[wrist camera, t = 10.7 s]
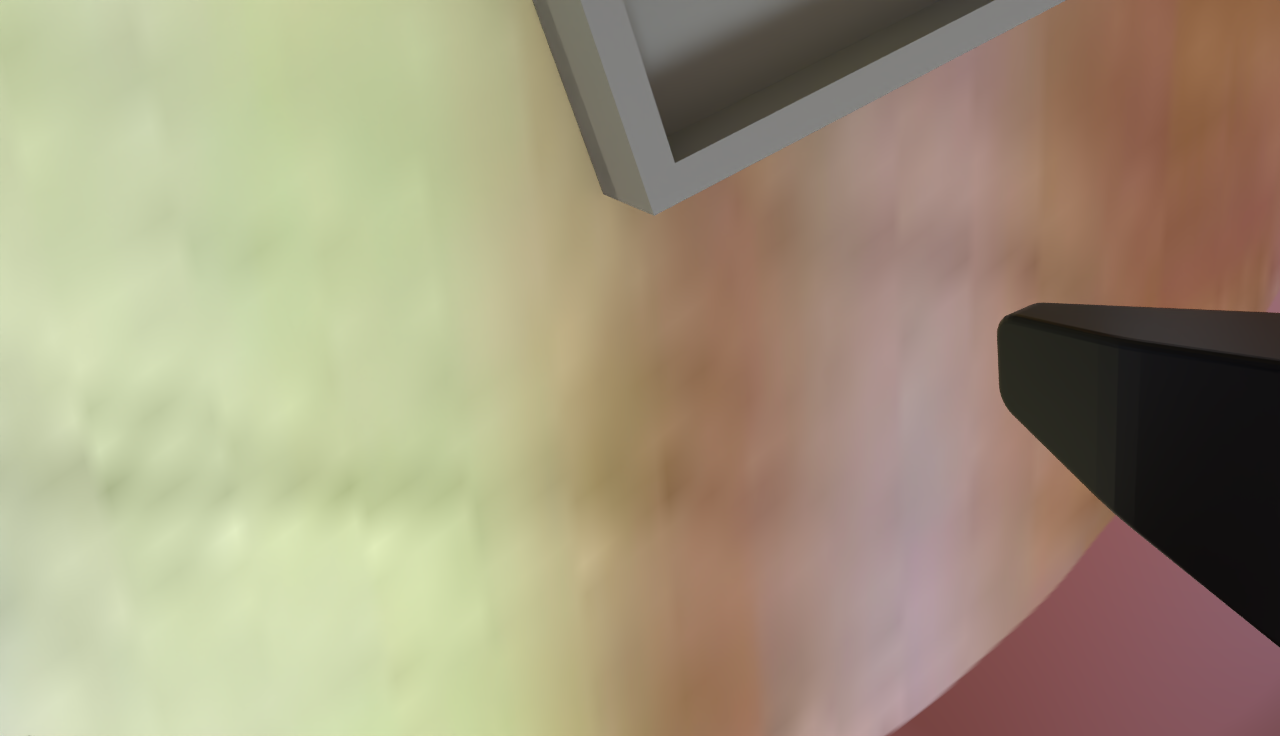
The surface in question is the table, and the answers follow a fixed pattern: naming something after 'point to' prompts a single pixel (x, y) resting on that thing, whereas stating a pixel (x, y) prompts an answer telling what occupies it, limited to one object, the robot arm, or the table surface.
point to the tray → (740, 76)
